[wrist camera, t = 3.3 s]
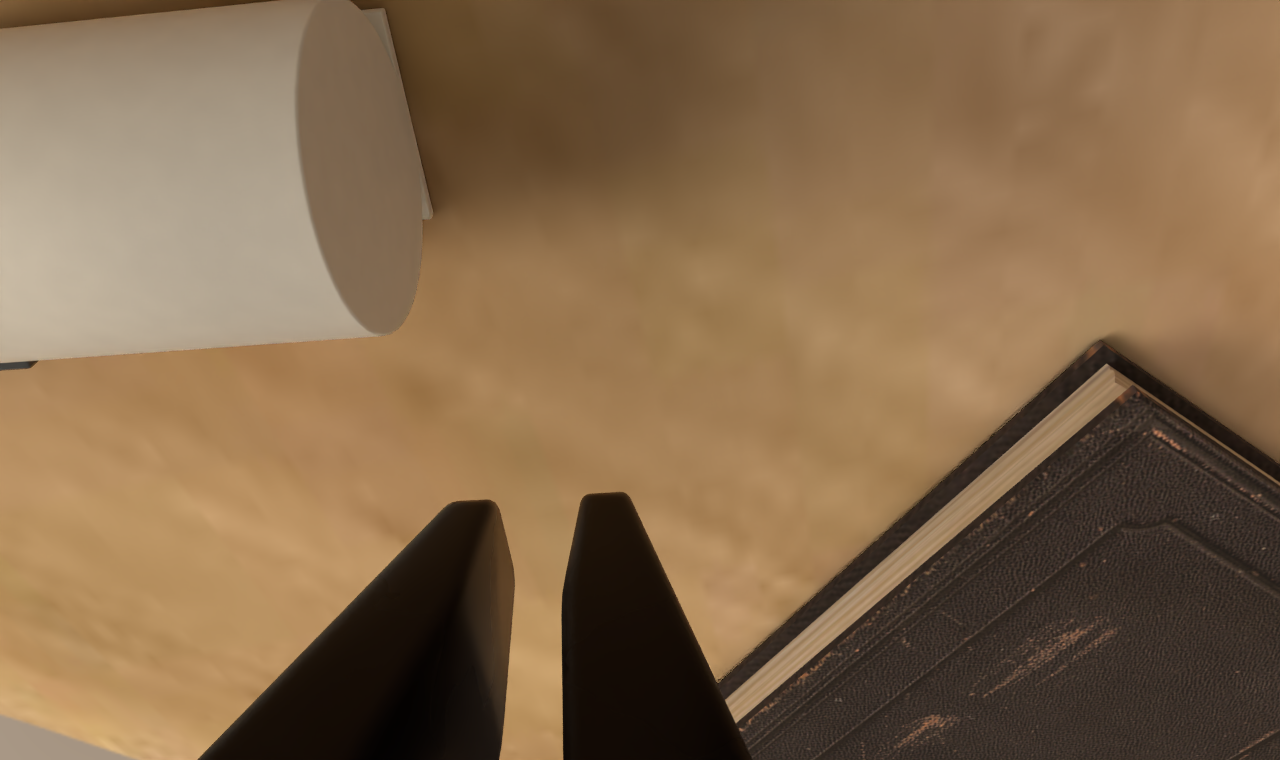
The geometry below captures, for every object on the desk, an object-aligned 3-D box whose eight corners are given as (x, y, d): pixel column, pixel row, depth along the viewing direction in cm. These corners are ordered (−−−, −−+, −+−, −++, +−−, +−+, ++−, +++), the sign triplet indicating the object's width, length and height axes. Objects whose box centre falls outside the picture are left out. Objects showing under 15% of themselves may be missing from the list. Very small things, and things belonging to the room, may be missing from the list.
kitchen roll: (374, -37, 18) (257, 44, 13) (441, 246, 21) (369, 400, 16) (-109, 13, 19) (-398, 108, 14) (27, 279, 22) (-165, 434, 17)
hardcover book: (588, 798, 33) (583, 862, 31) (1098, 338, 22) (1139, 393, 20) (927, 935, 38) (940, 998, 36) (1490, 610, 27) (1553, 676, 25)
